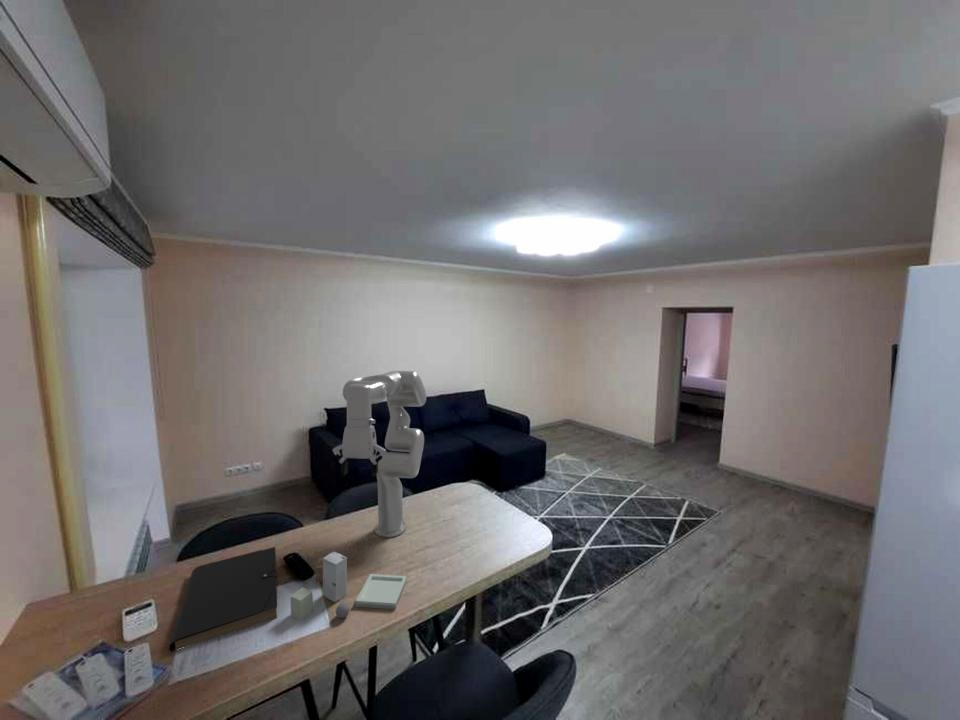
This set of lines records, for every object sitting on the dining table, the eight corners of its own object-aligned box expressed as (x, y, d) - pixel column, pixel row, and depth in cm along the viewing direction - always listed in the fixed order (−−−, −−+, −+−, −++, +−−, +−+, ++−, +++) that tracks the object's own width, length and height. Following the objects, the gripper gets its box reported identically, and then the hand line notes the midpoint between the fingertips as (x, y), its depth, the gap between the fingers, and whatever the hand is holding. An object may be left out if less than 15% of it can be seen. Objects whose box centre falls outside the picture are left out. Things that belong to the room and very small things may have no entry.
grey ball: (339, 611, 109) (339, 599, 108) (351, 611, 108) (351, 600, 108) (333, 620, 105) (333, 608, 105) (346, 621, 105) (346, 609, 105)
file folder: (277, 605, 106) (168, 641, 94) (278, 619, 106) (169, 656, 95) (275, 545, 135) (191, 567, 123) (276, 556, 135) (192, 578, 123)
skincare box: (322, 596, 115) (321, 558, 114) (334, 587, 119) (333, 550, 118) (336, 603, 112) (335, 564, 111) (348, 594, 116) (347, 556, 115)
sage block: (303, 606, 110) (302, 587, 110) (313, 611, 109) (312, 591, 108) (291, 616, 107) (290, 596, 106) (301, 620, 105) (300, 600, 105)
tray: (370, 579, 123) (370, 573, 122) (406, 581, 122) (406, 576, 121) (355, 606, 111) (355, 600, 110) (395, 609, 110) (395, 603, 110)
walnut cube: (319, 572, 126) (319, 558, 125) (335, 571, 127) (335, 556, 126) (316, 582, 121) (315, 567, 120) (332, 580, 122) (332, 566, 121)
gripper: (389, 420, 124) (389, 471, 125) (338, 419, 126) (338, 469, 127) (381, 425, 117) (381, 480, 118) (327, 424, 118) (328, 478, 119)
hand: (359, 474), depth 122 cm, fingers open, 9 cm apart
